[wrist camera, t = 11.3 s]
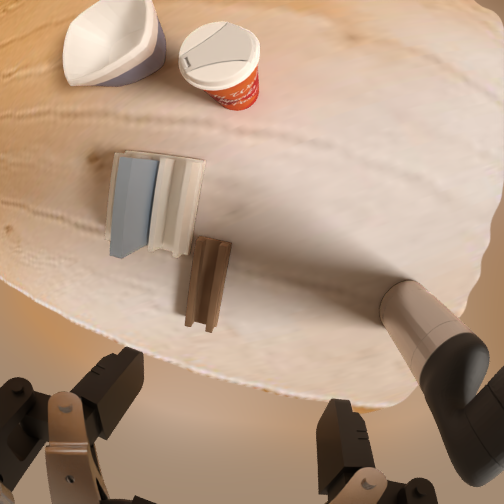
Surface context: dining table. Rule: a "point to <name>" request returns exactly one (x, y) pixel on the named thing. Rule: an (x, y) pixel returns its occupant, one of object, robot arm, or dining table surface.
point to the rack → (167, 201)
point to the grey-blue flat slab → (132, 205)
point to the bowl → (114, 44)
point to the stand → (207, 281)
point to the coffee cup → (222, 63)
